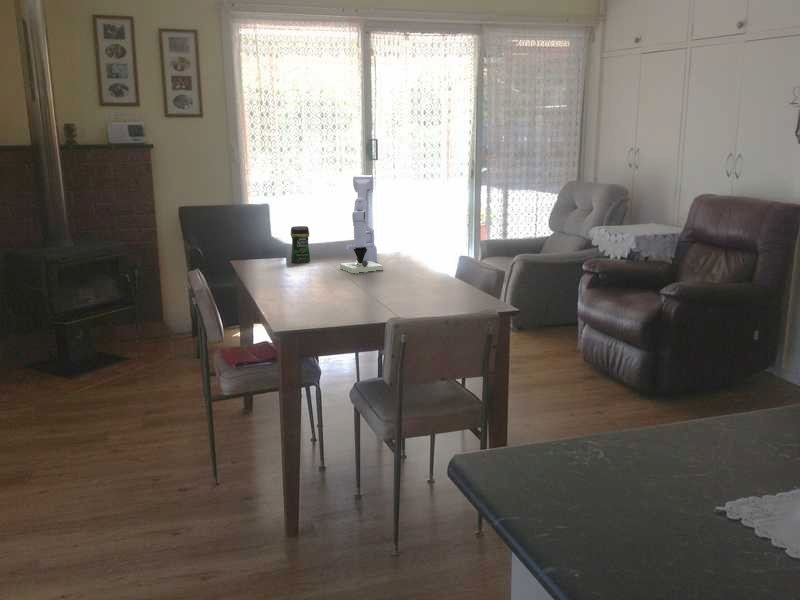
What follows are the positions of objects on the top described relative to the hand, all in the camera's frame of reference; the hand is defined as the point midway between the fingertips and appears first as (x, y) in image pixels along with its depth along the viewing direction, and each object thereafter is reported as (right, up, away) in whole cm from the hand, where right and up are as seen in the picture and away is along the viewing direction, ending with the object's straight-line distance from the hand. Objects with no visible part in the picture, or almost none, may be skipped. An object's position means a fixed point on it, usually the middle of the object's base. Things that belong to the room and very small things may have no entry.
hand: (360, 263), depth 353 cm
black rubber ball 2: (+2, 0, -6) cm, 6 cm away
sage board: (0, -3, +1) cm, 3 cm away
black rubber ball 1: (-1, +2, +6) cm, 7 cm away
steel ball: (-2, -2, 0) cm, 3 cm away
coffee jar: (-32, +2, +23) cm, 39 cm away
